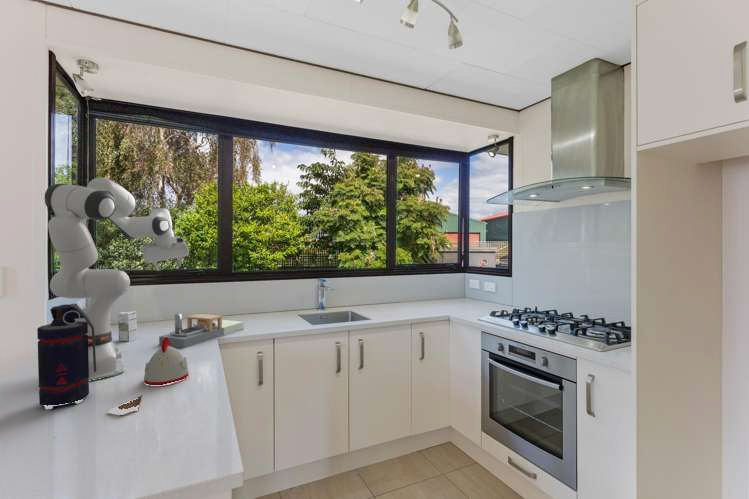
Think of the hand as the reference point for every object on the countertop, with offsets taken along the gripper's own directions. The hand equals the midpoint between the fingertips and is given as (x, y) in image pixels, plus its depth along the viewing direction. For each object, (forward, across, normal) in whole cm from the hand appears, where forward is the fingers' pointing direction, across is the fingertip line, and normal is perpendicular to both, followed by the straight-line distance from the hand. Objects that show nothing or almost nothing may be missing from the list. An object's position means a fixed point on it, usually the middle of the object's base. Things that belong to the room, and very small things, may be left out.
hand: (169, 268), depth 182 cm
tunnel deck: (+38, +10, -5) cm, 40 cm away
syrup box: (+35, -18, +18) cm, 44 cm away
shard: (+27, -43, -70) cm, 87 cm away
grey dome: (+30, -26, -55) cm, 68 cm away
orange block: (+34, +11, -5) cm, 36 cm away
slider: (+33, +5, -7) cm, 34 cm away
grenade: (+26, -53, -51) cm, 78 cm away
